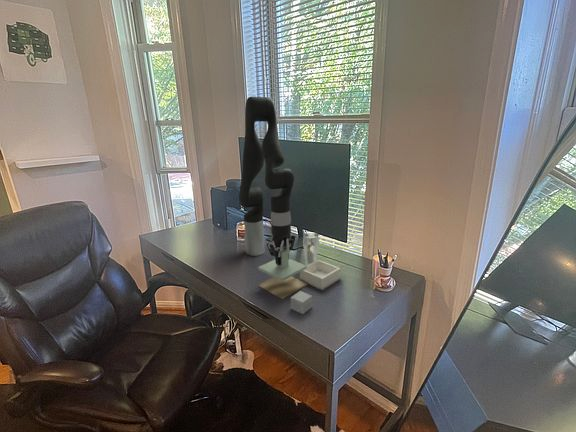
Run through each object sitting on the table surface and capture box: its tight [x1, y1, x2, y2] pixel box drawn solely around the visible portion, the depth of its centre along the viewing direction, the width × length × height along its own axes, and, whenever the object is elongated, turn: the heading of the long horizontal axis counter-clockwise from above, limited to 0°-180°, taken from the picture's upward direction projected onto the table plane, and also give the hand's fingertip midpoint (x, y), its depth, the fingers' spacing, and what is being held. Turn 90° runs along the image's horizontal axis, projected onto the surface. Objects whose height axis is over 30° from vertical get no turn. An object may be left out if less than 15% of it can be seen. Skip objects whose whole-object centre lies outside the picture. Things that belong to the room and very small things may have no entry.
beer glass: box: [302, 231, 320, 266], centre depth 142 cm, size 7×7×15 cm
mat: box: [257, 276, 308, 300], centre depth 128 cm, size 14×14×1 cm
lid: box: [257, 248, 307, 281], centre depth 124 cm, size 14×14×8 cm
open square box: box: [299, 259, 342, 291], centre depth 131 cm, size 12×12×5 cm
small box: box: [290, 290, 313, 315], centre depth 113 cm, size 6×6×5 cm
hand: (282, 262), depth 125 cm, fingers closed on lid, 3 cm apart
